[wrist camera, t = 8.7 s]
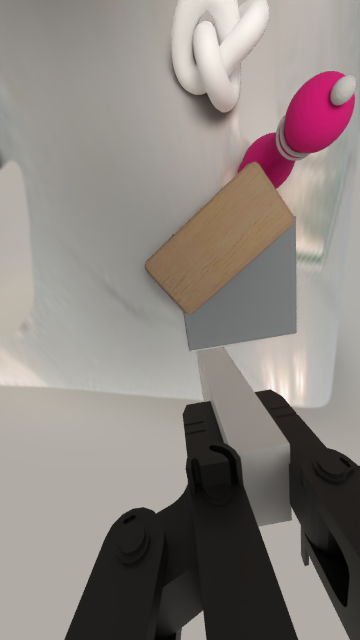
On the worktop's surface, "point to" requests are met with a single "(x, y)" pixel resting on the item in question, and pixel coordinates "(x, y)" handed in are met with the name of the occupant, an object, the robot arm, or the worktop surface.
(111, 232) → the worktop surface
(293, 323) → the mat
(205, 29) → the white decorative knot
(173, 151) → the worktop surface
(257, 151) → the pepper mill
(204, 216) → the block
